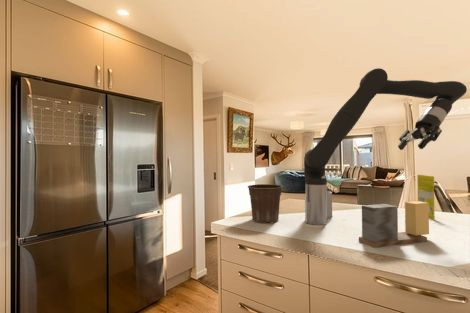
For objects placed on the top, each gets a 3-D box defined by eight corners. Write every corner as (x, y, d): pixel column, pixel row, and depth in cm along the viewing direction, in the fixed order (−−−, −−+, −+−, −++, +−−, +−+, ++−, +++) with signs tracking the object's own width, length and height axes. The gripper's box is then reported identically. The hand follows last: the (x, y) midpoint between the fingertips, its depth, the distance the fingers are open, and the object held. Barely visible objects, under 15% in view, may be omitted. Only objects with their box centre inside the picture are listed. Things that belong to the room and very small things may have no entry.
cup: (335, 217, 125) (335, 192, 125) (317, 218, 124) (317, 193, 124) (327, 213, 134) (327, 190, 134) (310, 214, 133) (310, 191, 133)
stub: (415, 235, 89) (415, 203, 89) (405, 232, 93) (405, 202, 93) (429, 234, 91) (428, 202, 91) (418, 231, 94) (417, 201, 95)
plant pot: (276, 226, 109) (275, 188, 110) (242, 222, 117) (241, 186, 117) (287, 218, 124) (286, 185, 124) (256, 215, 131) (256, 183, 132)
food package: (435, 219, 119) (435, 176, 119) (433, 219, 119) (432, 176, 120) (419, 212, 134) (418, 174, 134) (416, 212, 134) (416, 174, 135)
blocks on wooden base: (374, 247, 82) (374, 208, 82) (358, 241, 89) (358, 205, 89) (426, 241, 88) (426, 204, 88) (408, 235, 95) (407, 201, 95)
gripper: (409, 116, 112) (388, 142, 108) (444, 110, 98) (421, 140, 95) (419, 128, 113) (399, 155, 110) (454, 124, 99) (432, 154, 96)
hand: (409, 148), depth 102 cm, fingers open, 8 cm apart
